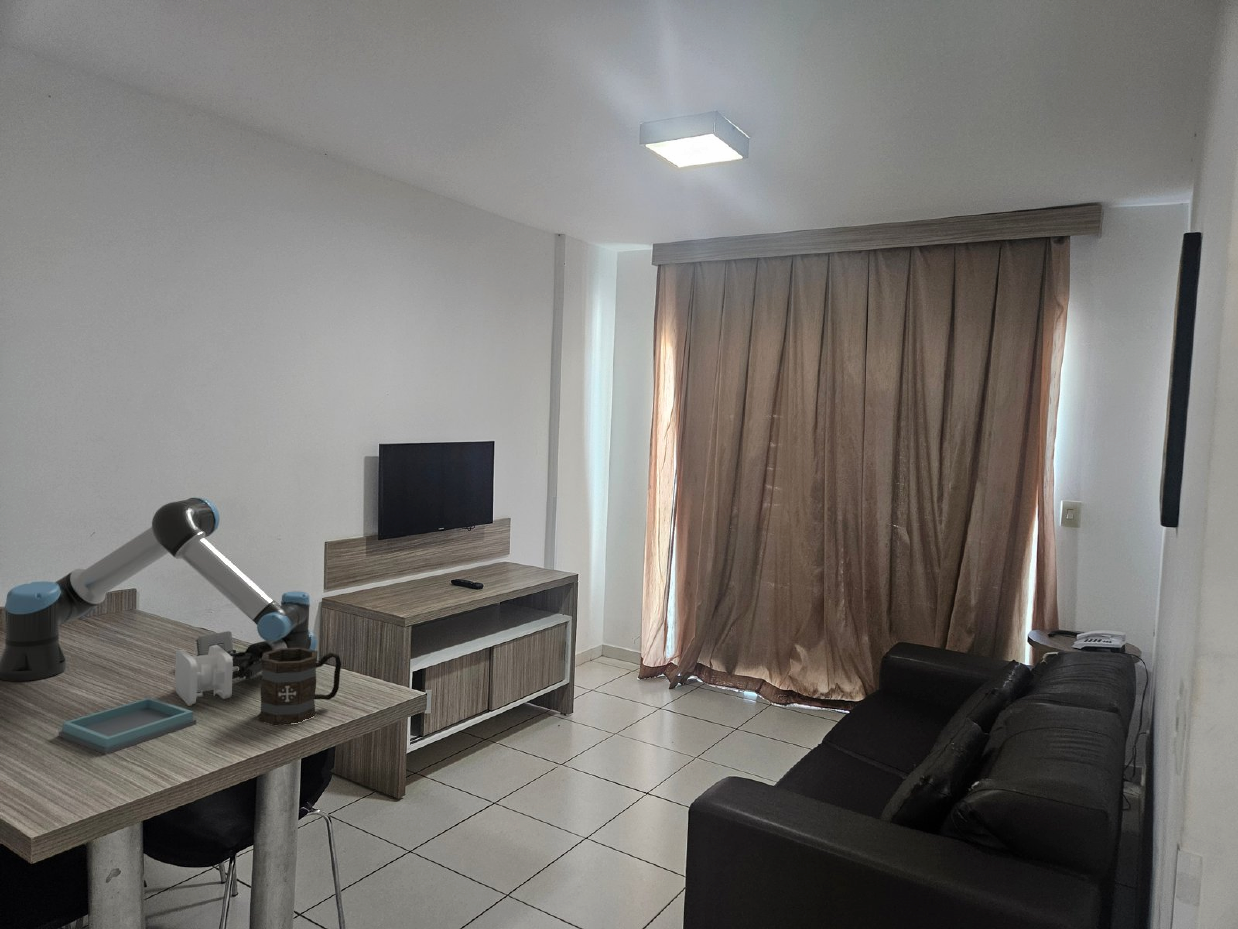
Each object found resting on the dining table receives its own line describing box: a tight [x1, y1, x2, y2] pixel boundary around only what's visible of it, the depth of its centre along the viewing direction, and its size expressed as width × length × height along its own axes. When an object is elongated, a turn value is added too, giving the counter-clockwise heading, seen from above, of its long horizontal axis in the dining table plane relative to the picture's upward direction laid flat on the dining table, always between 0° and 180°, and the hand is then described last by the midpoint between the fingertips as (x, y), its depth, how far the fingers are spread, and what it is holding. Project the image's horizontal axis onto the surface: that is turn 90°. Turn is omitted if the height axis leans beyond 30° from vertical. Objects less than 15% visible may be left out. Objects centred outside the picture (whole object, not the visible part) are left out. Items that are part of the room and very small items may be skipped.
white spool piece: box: [174, 645, 234, 707], centre depth 208 cm, size 15×11×12 cm
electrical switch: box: [195, 630, 234, 655], centre depth 233 cm, size 9×5×9 cm, turn 141°
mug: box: [258, 648, 342, 726], centre depth 201 cm, size 20×14×15 cm
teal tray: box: [58, 697, 197, 755], centre depth 185 cm, size 17×21×3 cm
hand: (195, 674), depth 205 cm, fingers open, 13 cm apart
